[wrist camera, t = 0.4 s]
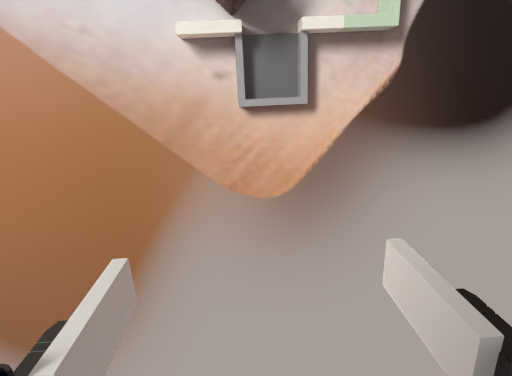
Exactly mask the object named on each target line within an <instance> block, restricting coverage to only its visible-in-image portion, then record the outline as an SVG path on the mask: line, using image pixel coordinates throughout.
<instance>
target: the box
mask: <svg viewBox="0 0 512 376" xmlns="http://www.w3.org/2000/svg"><path fill="white" fill-rule="evenodd" d="M216 1H217V2H218V3H219V4H220V5H221V6H222V7H223V8H224V9H225V10H226V11H227V12H228V13H229V14H230V15H232V16H233V15H234V14H235V13H236V12H237V10H238V9H239V8H240V6H241V5H242V4H243V3H244V1H245V0H216Z"/></svg>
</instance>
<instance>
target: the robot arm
mask: <svg viewBox="0 0 512 376" xmlns="http://www.w3.org/2000/svg"><path fill="white" fill-rule="evenodd" d="M383 286H384V287H385V289H386V290H387V292H388V293H389V294H390V296H391V297H392V299H393V300H394V301H395V303H396V304H397V306H398V307H399V308H400V310H401V311H402V313H403V314H404V315H405V317H406V318H407V320H408V321H409V323H410V324H411V325H412V327H413V328H414V330H415V331H416V332H417V334H418V335H419V336H420V338H421V339H422V341H423V342H424V344H425V345H426V346H427V348H428V349H429V351H430V352H431V353H432V355H433V356H434V357H435V359H436V360H437V362H438V363H439V364H440V366H441V367H442V369H443V370H444V371H445V373H446V374H447V376H512V327H511V326H510V325H509V324H508V323H507V322H505V321H504V320H503V319H502V318H501V317H500V316H499V315H498V314H495V312H494V311H493V310H492V309H491V308H490V307H487V305H486V304H485V303H484V302H483V301H482V300H481V299H480V298H478V297H477V296H476V295H474V294H472V293H470V292H469V291H467V290H465V289H454V288H453V287H452V286H451V285H450V284H449V283H448V282H447V281H446V280H445V279H444V278H443V277H441V276H440V274H438V273H437V272H436V271H435V270H434V269H433V268H432V267H431V266H430V265H429V264H428V263H427V262H426V261H425V260H424V259H423V258H422V257H420V256H419V255H418V254H417V253H416V252H415V251H414V250H413V249H412V248H411V247H410V246H409V245H408V244H407V243H406V242H405V241H404V240H403V239H402V238H397V239H387V241H386V252H385V264H384V276H383ZM136 306H137V299H136V294H135V289H134V285H133V280H132V275H131V271H130V265H129V261H128V258H123V259H112V261H111V262H110V264H109V265H108V266H107V268H106V269H105V271H104V272H103V273H102V275H101V276H100V277H99V279H98V280H97V281H96V283H95V284H94V285H93V287H92V288H91V290H90V291H89V292H88V294H87V295H86V297H85V298H84V299H83V301H82V302H81V303H80V305H79V306H78V308H77V309H76V310H75V312H74V313H73V314H72V316H71V317H70V319H69V320H68V321H58V322H57V323H56V324H54V325H53V326H52V327H50V328H49V329H48V330H47V331H46V332H45V333H44V334H43V335H42V337H41V338H40V339H39V340H38V342H37V344H35V346H34V347H33V348H32V349H31V351H30V353H28V355H27V356H26V357H25V358H24V360H23V361H22V362H21V363H20V365H19V366H18V367H17V368H16V370H15V371H14V372H13V371H12V369H11V367H10V366H9V365H6V364H0V376H104V375H105V373H106V371H107V369H108V367H109V364H110V362H111V360H112V358H113V356H114V354H115V351H116V349H117V347H118V345H119V343H120V341H121V338H122V336H123V334H124V332H125V330H126V328H127V326H128V323H129V321H130V319H131V317H132V315H133V313H134V311H135V308H136Z"/></svg>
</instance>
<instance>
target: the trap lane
mask: <svg viewBox="0 0 512 376" xmlns="http://www.w3.org/2000/svg"><path fill="white" fill-rule="evenodd" d="M400 2H401V0H378V11H377V14H362V15H336V16H311V17H302V18H301V19H300V20H299V21H298V22H297V30H298V34H273V35H249V36H242V25H241V19H234V20H209V21H183V22H174V23H175V32H176V35H177V36H178V37H179V38H181V39H185V38H210V37H234V36H235V50H236V67H237V84H238V101H239V107H248V106H269V105H289V104H308V33H332V32H356V31H381V30H388V29H391V28H393V27H396V26H398V25H399V14H400Z"/></svg>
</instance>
